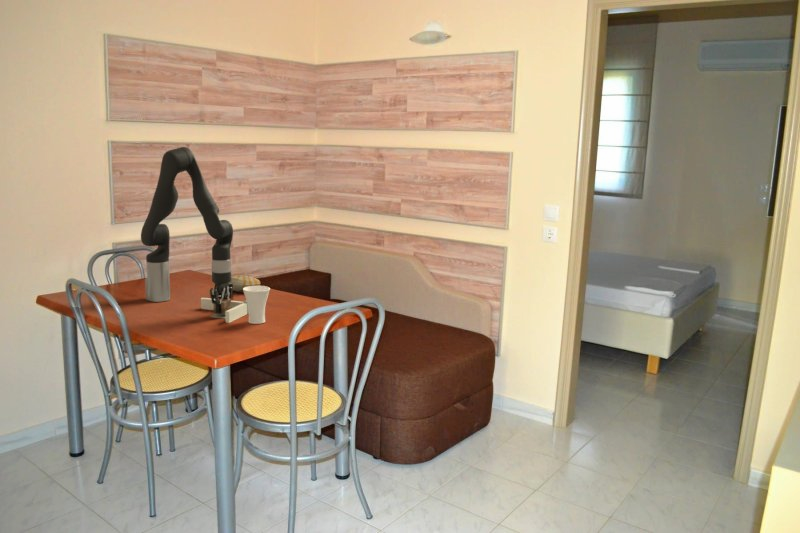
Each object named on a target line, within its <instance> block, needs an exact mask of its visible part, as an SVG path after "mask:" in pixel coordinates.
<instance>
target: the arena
mask: <svg viewBox="0 0 800 533" xmlns="http://www.w3.org/2000/svg"><path fill="white" fill-rule="evenodd" d="M214 301H215V299H214ZM200 306H201V308H200V309H201V310H209V311H214V305H213V303H212V300H211V297H209V298H208V297H201V298H200ZM247 315H249V310H248V304H247V300H246V299H245V300H243V301H239V300H238V301H237V300H231V309H229V310H227V311H225V315H223V314H213V315H210V316H209V317H210V318H216V319H225V323H228V324H230V323H231V322H234V321H235V320H238V319H240V318H241V317H243V316H247Z"/></svg>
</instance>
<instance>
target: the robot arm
mask: <svg viewBox="0 0 800 533" xmlns="http://www.w3.org/2000/svg"><path fill="white" fill-rule="evenodd" d="M159 172H160V173H159V176H158V180H157V185H156V188H155V192H154V193H153V197H152V202H151V205H150V208H149V212H148V214H147V216H146V219H145V221H144V223H143V225H142V227H141V228H142V229H141V232H140V240H141V243H142V244H143V245H144V246H145V247H146V246H147V247H156V246H157V248H156V249H155V250H153V251H152V252H149V253H147V254H146V257H145V260H146V261H145V262H146V278H145V279H144V283H145V284H144V286H145V300H146V301H149V302H154V303H156V302H157V303H158V302H159V303H160V302H166V301H169V300H171V281H170V242H171V240H170V239H171V238H170V229H169V226H168V225H167V224H165V223H161V222H162V221H164V220H165V219H166V218H167V217H169V216H170V215H171V214H172V213H173V212H174V210H175V209H176V207H177V202H178V199H179V191H178V190H177V187H176V185H175V180H176V177H177V175H178V174H180V173H184V172H187V174H188V176H189V177H190V180H191V183H192V199H193V202H194V204H195V206H196V208H197V209H198V211H199V213H200V214H201V216H202V219H203V223H204V225H205V226H204V227H205V228H206V229H205V230H206V232H207V234H209V236H210V237H211V238H212V239H215V243H214V245H213V246H212V247H211V282H212V283H213V284H214V288H213V289H210V290H209V293H210V294H209V295H210V298H211V300H212V303H213V304H215V305H216V313H219V314H220V313H221V302H222V299H228V300H231V299H232V297H233V292H234V290H233V284H229V282H231V275H232V262H231V246H232V242H233V241H232V240H233V236H234V229H233V225H232V223H231V222H230V221H229V220H227V219H220V217H219V215H218V214H219V213H220V209H219V207H218V205H217V203H216V201H215V199H214V198H213V196H212V195H211V192H210V190H209V189H208V187H207V184H206V181H205V179H204V177H203V174H202V171H201V169H200V167H199V164H198V162H197V160H196V157H195V155H194V153H193V151H191V149H190V148H189V147H186V146H181V147H177V148H173V149H170V150H167V151H166V152H164V154H163V156H162V159H161V164H160V171H159ZM214 299H215V301H214Z"/></svg>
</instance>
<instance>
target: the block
mask: <svg viewBox="0 0 800 533" xmlns="http://www.w3.org/2000/svg"><path fill="white" fill-rule="evenodd" d="M231 301H232V300H231V299H230V300H228V299H222V302H221V313H220V314H223V315H225V311H227V310H229V309H231ZM213 305H214V310H213V315H215V314H219V313H216V305H215V304H213Z"/></svg>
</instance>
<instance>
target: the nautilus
mask: <svg viewBox="0 0 800 533" xmlns="http://www.w3.org/2000/svg"><path fill="white" fill-rule="evenodd" d="M229 284H233V291H234V292H237V293H238V292H239V293H240V292H241V293H244V291H243V288H244V287H248V286H261V281H260V279H258V278H256V277H252V276H250V275H241V274H233V275H232V274H231V282H229Z"/></svg>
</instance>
